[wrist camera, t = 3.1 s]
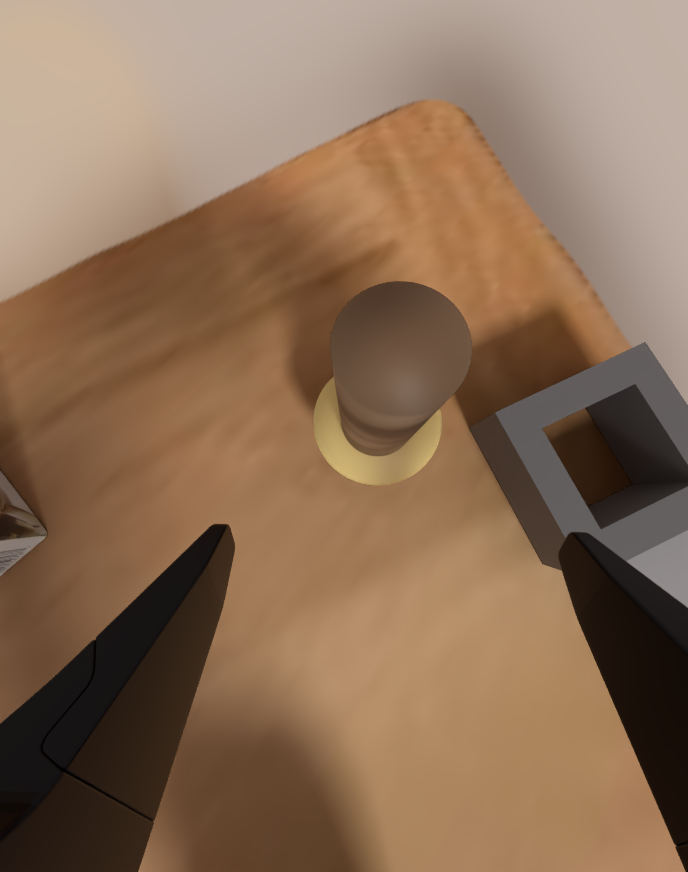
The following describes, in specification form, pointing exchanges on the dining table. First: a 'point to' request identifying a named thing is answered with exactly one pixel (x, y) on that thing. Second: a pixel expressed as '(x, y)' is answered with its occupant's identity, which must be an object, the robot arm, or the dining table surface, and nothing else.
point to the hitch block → (633, 447)
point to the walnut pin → (390, 381)
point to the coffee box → (16, 526)
